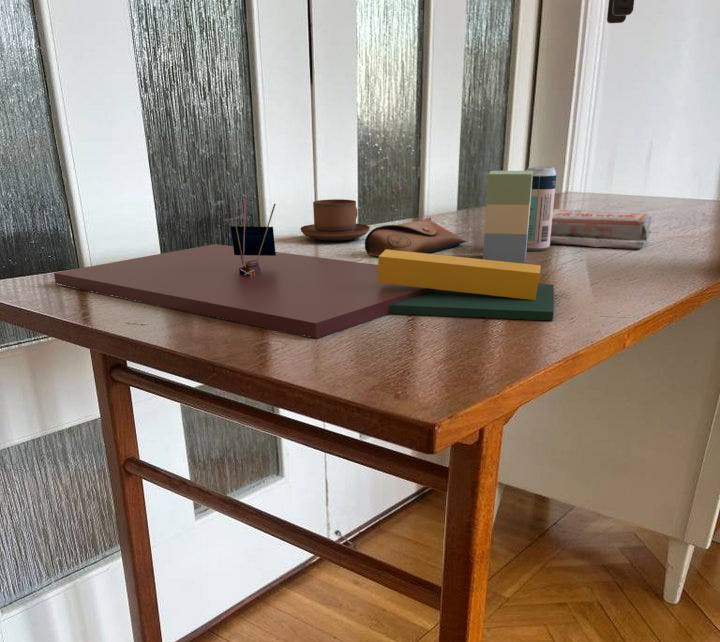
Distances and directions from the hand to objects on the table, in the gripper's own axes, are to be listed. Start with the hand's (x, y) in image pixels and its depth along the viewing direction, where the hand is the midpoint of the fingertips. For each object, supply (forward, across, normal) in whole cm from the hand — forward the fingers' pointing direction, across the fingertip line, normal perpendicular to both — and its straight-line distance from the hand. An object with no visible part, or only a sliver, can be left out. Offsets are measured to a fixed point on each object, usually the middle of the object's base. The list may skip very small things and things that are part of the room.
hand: (618, 19), depth 90 cm
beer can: (+30, +18, +8) cm, 36 cm away
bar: (+28, -21, +16) cm, 38 cm away
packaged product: (+30, +26, -1) cm, 39 cm away
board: (+29, -17, +42) cm, 54 cm away
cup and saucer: (+29, +23, +42) cm, 56 cm away
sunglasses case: (+30, +14, +26) cm, 42 cm away
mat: (+29, -21, +16) cm, 40 cm away
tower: (+29, +8, +12) cm, 33 cm away
